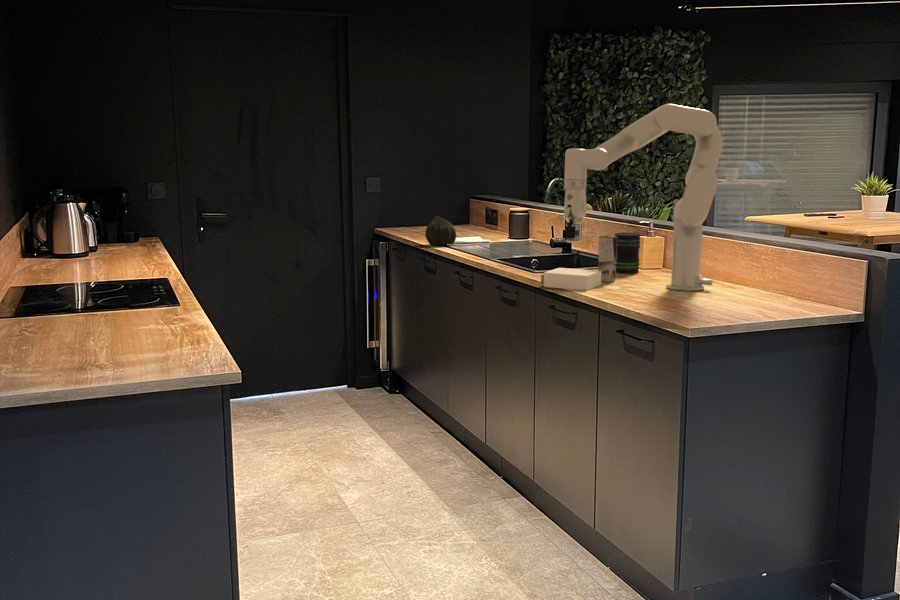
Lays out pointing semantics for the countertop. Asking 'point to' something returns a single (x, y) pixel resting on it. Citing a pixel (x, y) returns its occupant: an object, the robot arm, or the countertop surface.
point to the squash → (440, 232)
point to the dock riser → (571, 278)
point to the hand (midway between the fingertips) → (573, 236)
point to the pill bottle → (576, 232)
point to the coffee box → (607, 257)
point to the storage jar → (627, 253)
